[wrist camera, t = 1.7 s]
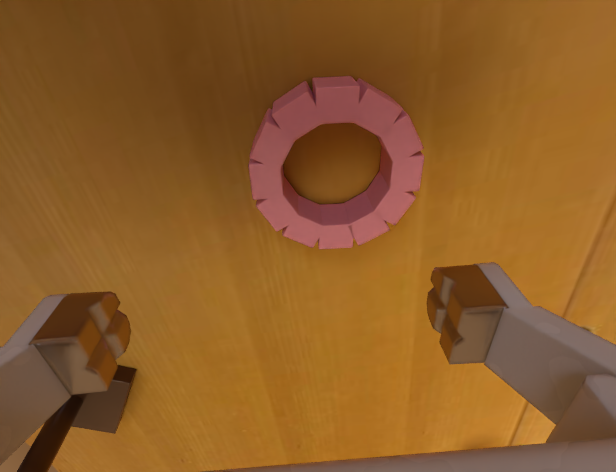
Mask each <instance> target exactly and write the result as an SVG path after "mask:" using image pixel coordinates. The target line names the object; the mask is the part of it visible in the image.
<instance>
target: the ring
mask: <svg viewBox="0 0 616 472" xmlns="http://www.w3.org/2000/svg"><path fill="white" fill-rule="evenodd" d="M312 82H313V92H312V91H311V89H310V87H309V86H308V84H307V82H306V81H304V82H302V83H301V84H299V85H298V86H296V87H295V88H293V89H292V90H290V91H289V92H287V93H286V94H284V95H283V96H282V97H280V98H279V99H277V100H276V101H274V102H273V109H272V110H271V109H270V108H268V110H267V112H266V114H265V116H264V118H263V121H262V123H261V125H260V127H259V129H258V132H257V134H256V136H255V138H254V141H253V145H252V148H251V152H250V161H249V165H248V167H249V174H250V182H251V189H252V197H253V199H254V200H256V199H257V203H256V207H257V208H258V209H259V210H260V212H261V213H262V214H263V215H264V217H265V218H266V219H267V220H268V221H269V223H270V224H271V225H272V226H273V228H274V229H275V230H276V231H279V230H281V229H282V228H283V232H282V235H283V236H285V237H287V238H290V239H292V240H294V241H297V242H299V243H302V244H304V245H307V246H309V247H311V248H313V246H314V245H315V243H316V242H317V240H318V246H319V249H332V248H350V247H353V238H354V239H355V240H356V242H357V243H358V245H362V244H363V243H365V242H367V241H369V240H371V239H373V238H375V237H377V236H379V235H381V234H383V233H385V232H387V231H389V230H390V229H389V227H388V225H387V222H389V223H391V224H393V225H396V223H397V222H398V221H399V219H400V218H401V217H402V216H403V214H404V213H405V212H406V210H407V209H408V208H409V206H410V205H411V204H412V203H413V201H414V200H415V199H416V197H415V195H414V194H413V192H412V191H419V188H420V182H421V175H422V169H423V162H424V155H423V154H422V153H421V152H420V150H422V149H423V145H422V143H421V141H420V139H419V137H418V134H417V132H416V130H415V128H414V125H413V123H412V121H411V119H410V117H409V115H408V114H407V113H406V112H405V111H404V110H403V108H402V107H401V106H400V105H399V104H398V103H397V102H396V101H394V100H393V99H392V98H391V97H390V96H388V95H387V94H385V93H383V92H382V91H380V90H378V89H377V88H375V87H373V86H372V85H370V84H368V83H367V82H365V81H363V80H362V79H360V78H359V79H358V80H357V82H356V81H355V80H354V79H353V78H352V76H342V77H319V78H313V79H312ZM352 122H353V123H355V124H357V125H359V126H361V127H362V128H364V129H366V130H368V131H370V132H371V133H373V134H375V135H376V136H377V138H378V140H379V142H380V143H381V145H382V148H381V160H380V171H379V172H378V174H377V175H376V177H375V178H374V180H373V181H372V183H371V184H370V185H369V187H368V188H367V190H366V191H365V192H363V193H361V194H359V195H358V196H356V197H354V198H352V199H350V200H349V201H347V202H345V203H341V204H321V205H319V204H317V203H314V202H312V201H310V200H308V199H306V198H303V197H301V196H299V195H298V194H297V193H296V192H295V190H294V189H293V187H292V186H291V185H290V183H289V182H288V181H287V179H286V178H285V176H284V171H283V163H284V161H285V159H286V157H287V155H288V153H289V151H290V149H291V147H292V145H293V143H294V141H295V140H297V139H298V138H300V137H302V136H303V135H305V134H306V133H308V132H309V131H311V130H313V129H314V128H316V127H317V126H319V125H320V124H331V123H352ZM386 221H387V222H386Z"/></svg>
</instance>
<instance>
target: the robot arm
mask: <svg viewBox="0 0 616 472" xmlns="http://www.w3.org/2000/svg"><path fill="white" fill-rule="evenodd" d="M431 282H432V284H433V286H434V287H433V288H432V289H431V290H430V291H429V292H428V297H427V312H428V316H429V320H430V322H431V325H432V327H433V329H435V330H436V331H438V332H439V333H441V337H440V345H441V347H442V349H443V351H444V353H445V355H446V358H447V360H448V362H449V364H465V363H484V362H485V363H484V364H485V365H486V366H487V367H488V368H489V369H491V370H492V371H493V372H494V373H495V374H496V375H498V376H499V377H500V378H501V379H502V380H504V381H505V382H506V383H507V384H508V385H510V386H511V387H512V388H513V389H514V390H515V391H517V392H518V393H519V394H520V395H521V396H523V397H524V398H525V399H526V400H527V401H529V402H530V403H531V404H532V405H533V406H534V407H536V408H537V409H538V410H539V411H540V412H542V413H543V414H544V415H545V416H546V417H548V418H549V419H550V420H551V421H552V422H553V423H555V424H556V426H555V427H554V429H553V431H552V432H551V434H550V436H549V437H548V439H547V441H546V443H543V444H531V445H519V446H507V447H495V448H483V449H470V450H458V451H446V452H434V453H422V454H409V455H397V456H385V457H372V458H360V459H348V460H336V461H323V462H311V463H299V464H287V465H275V466H263V467H250V468H238V469H226V470H214V471H202V472H616V345H615V344H613V343H611V342H609V341H607V340H605V339H603V338H601V337H599V336H597V335H595V334H593V333H591V332H589V331H587V330H585V329H583V328H581V327H579V326H577V325H575V324H573V323H571V322H569V321H567V320H566V319H564V318H562V317H560V316H558V315H556V314H554V313H552V312H550V311H548V310H546V309H544V308H542V307H540V306H536V307H533V306H532V305H531V303H530V302H529V301H528V300H527V299H526V297H525V296H524V295H523V294H522V293H521V291H520V290H519V289H518V288H517V287H516V285H515V284H514V283H513V282H512V280H511V279H510V278H509V277H508V276H507V274H506V273H505V272H504V271H503V270H502V268H501V267H500V266H499V265H498V264H496V263H494V262H490V263H480V264H473V265H461V266H449V267H436V268H434V270H433V271H432V275H431ZM119 305H120V301H119V300H118V298H117V296H116V294H115V293H113V292H90V293H71V294H58V295H50V296H47V297H45V298H43V300H42V301H41V302H40V303H39V304H38V306H37V307H36V308H35V309H34V310H33V312H32V313H31V314H30V315H29V316H28V318H27V319H26V320H25V321H24V322H23V324H22V325H21V326H20V327H19V328H18V330H17V331H16V332H15V333H14V334H13V336H12V337H11V338H10V339H9V340H8V342H7V343H6V344H5V345H4V346H3V347H0V465H1V464H2V463H3V462H4V461H5V460H6V459H7V458H8V457H9V456H10V455H11V454H12V453H13V452H14V451H16V450H17V448H19V447H20V446H21V445H22V444H23V443H24V442H25V441H26V440H27V439H28V438H29V437H30V436H31V435H32V434H33V433H34V432H35V431H36V430H37V429H38V428H39V427H40V426H41V425H42V424H43V423H45V422H46V421H47V420H48V419H49V418H50V417H51V416H52V415H53V414H54V413H55V412H56V411H57V410H58V409H59V408H60V407H61V406H62V405H63V404H64V403H65V402H66V401H67V400H68V399H69V398H70V397H71V395H74V394H83V393H93V392H102V391H107V390H108V388H109V386H110V383H111V381H112V379H113V377H114V375H115V373H116V371H117V368H118V365H117V362H116V359H117V358H118V357H120V356H121V355H122V354H123V353H124V352H125V351H126V349H127V346H128V344H129V341H130V334H131V329H130V323H129V320H128V318H127V316H126V315H125V314H123V313H122V312H120V311H119V310H117V309H118V307H119Z"/></svg>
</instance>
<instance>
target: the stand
mask: <svg viewBox="0 0 616 472" xmlns="http://www.w3.org/2000/svg"><path fill="white" fill-rule="evenodd" d="M135 372H136V369H131V368H127V367H122V366H118V368H117V371H116V373H115V375H114V377H113V379H112V381H111V383H110V386H109V388H108V390H107V391H102V392H93V393H83V394H74V395H71V397H70V398H69V399H68V400H67V401H66V402H65V403H64V404H63V405H62V406H61V407H60V408H59V409H58V410H57V411H56V412H55V413H54V414H53V415H52V416H51V417H50V418H49V419H48V420H47V421H46V422H45V424H44V426H43V427H42V429H41V431H40V432H39V434H38V436H37V438H36V439H35V441H34V443H33V444H32V446H31V448H30V450H29V452H28V453H27V455H26V457H25V459H24V460H23V462H22V463H21V465H20V467H19V469H18V470H17V472H48V470H49V468H50V466H51V464H52V462H53V460H54V459H55V457H56V455H57V453H58V451H59V449H60V447H61V445H62V443H63V441H64V439H65V437H66V435H67V433H68V431H69V429H70V427H71V426H73V427H79V428H85V429H91V430H97V431H103V432H109V433H114V434H115V433H116V431H117V428H118V426H119V423H120V421H121V418H122V414H123V411H124V408H125V405H126V401H127V398H128V395H129V392H130V388H131V385H132V382H133V379H134V375H135Z"/></svg>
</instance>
